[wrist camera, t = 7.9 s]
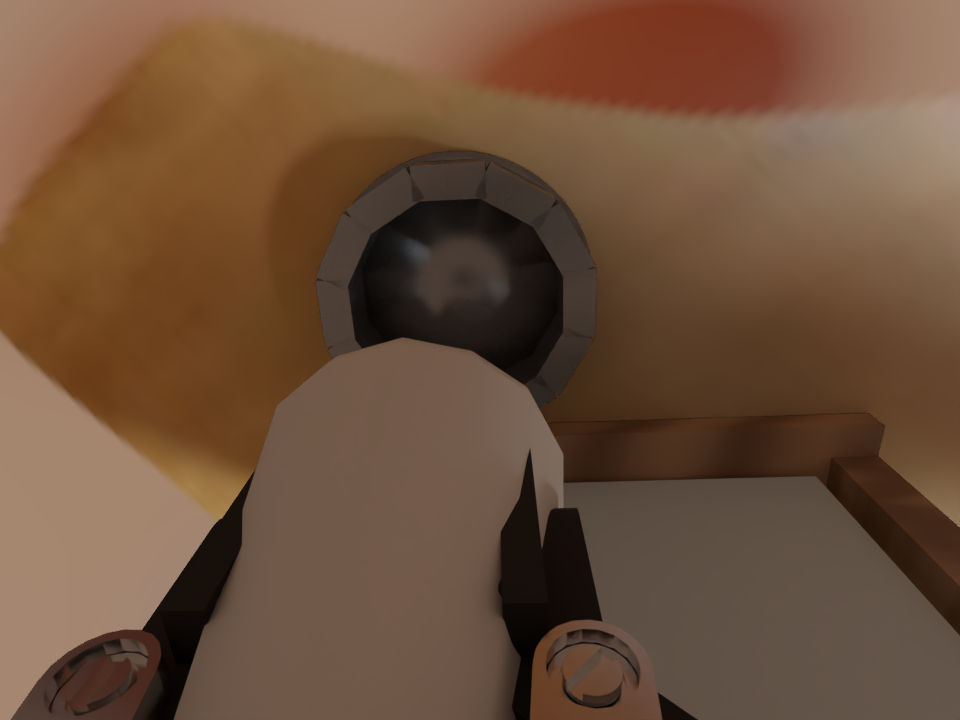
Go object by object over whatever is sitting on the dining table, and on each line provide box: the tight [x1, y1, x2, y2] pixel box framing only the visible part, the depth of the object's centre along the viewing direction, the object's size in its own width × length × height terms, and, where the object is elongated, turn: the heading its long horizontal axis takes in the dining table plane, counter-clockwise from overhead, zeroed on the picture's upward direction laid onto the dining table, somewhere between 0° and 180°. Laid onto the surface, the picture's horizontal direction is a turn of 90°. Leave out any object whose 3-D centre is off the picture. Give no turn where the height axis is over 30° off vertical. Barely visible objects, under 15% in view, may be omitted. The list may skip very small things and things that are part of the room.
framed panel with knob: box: [547, 413, 960, 635], centre depth 19 cm, size 24×6×20 cm, turn 93°
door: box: [563, 476, 960, 720], centre depth 19 cm, size 19×3×16 cm, turn 93°
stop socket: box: [315, 151, 597, 408], centre depth 24 cm, size 11×11×3 cm
